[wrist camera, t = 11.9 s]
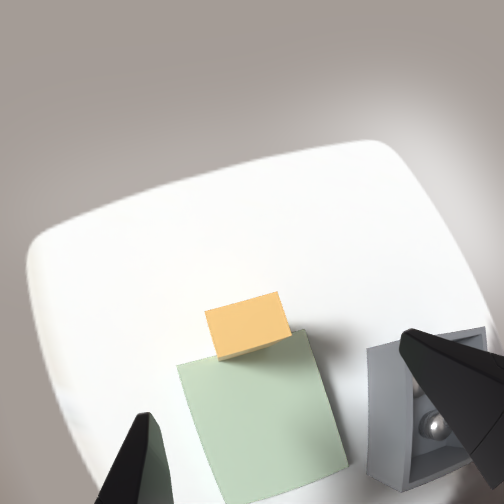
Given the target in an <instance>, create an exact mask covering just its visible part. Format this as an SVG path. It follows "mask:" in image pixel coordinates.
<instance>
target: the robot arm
mask: <svg viewBox="0 0 504 504" xmlns="http://www.w3.org/2000/svg"><path fill="white" fill-rule="evenodd" d="M399 353H400V355H401V357H402V358H403V360H404V362H405V363H406V365H407V367H408V368H409V370H410V372H411V373H412V375H413V377H414V378H415V380H416V382H417V383H418V385H419V386H420V387H421V389H422V390H423V391H424V393H425V394H426V395H427V397H428V398H429V400H430V401H431V402H432V404H433V405H434V406H435V408H436V409H437V410H438V412H439V413H440V415H441V416H442V417H443V419H444V420H445V421H446V423H447V424H448V426H449V427H450V428H451V430H452V431H453V433H454V434H455V436H456V437H457V438H458V440H459V441H460V443H461V444H462V446H463V447H464V449H465V450H466V451H467V453H468V454H469V455H470V458H471V459H472V460H473V462H474V463H475V465H476V466H477V468H478V469H479V471H480V472H481V474H482V476H483V477H484V479H485V480H486V482H487V483H488V485H489V486H490V488H491V489H492V490H493V489H494V488H496V487H497V486H498V485H499V484H500V483H502V482H503V481H504V356H501V355H497V354H494V353H490V352H487V351H484V350H480V349H477V348H474V347H470V346H467V345H464V344H461V343H457V342H454V341H451V340H448V339H445V338H441V337H438V336H435V335H432V334H429V333H426V332H422V331H419V330H416V329H413V328H411V329H408V330H406V331H404V332H403V333H402V335H401V339H400V344H399ZM94 504H174V501H173V494H172V486H171V477H170V471H169V466H168V462H167V457H166V453H165V448H164V444H163V439H162V434H161V430H160V427H159V425H158V424H157V422H156V420H155V419H154V417H153V416H152V414H151V413H150V412H144V413H139V414H137V416H136V418H135V420H134V422H133V424H132V426H131V428H130V430H129V432H128V434H127V436H126V438H125V440H124V442H123V444H122V446H121V448H120V450H119V452H118V454H117V456H116V459H115V461H114V463H113V465H112V467H111V469H110V471H109V473H108V475H107V477H106V480H105V482H104V484H103V486H102V488H101V490H100V492H99V495H98V497H97V499H96V501H95V503H94Z"/></svg>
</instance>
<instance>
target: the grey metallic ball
mask: <svg viewBox="0 0 504 504" xmlns="http://www.w3.org/2000/svg"><path fill="white" fill-rule="evenodd" d="M418 430H419V434H420V436H421V437H422V438H425V439H431V440H436V441H442V440H445V439H446V438H447V437H448V436H449V435H450V434H451V432H452V430H451V428H450V427H449V426H448V424H447V423H446V421H445V420H444V419H443V417H442V416H441V415H440V413H439V412H438V411H437V410H431V411H428V412H427V413H425V414H424V415H423V417H422V418H421V420H420V422H419V427H418Z"/></svg>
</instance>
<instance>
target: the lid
mask: <svg viewBox="0 0 504 504" xmlns="http://www.w3.org/2000/svg"><path fill="white" fill-rule="evenodd" d="M205 315H206V319H207V323H208V327H209V330H210V334H211V337H212V341H213V344H214V348H215V351H216V356H212V357H209V358H205V359H201V360H197V361H193V362H189V363H185V364H181V365H176V366H177V370H178V373H179V377H180V380H181V384H182V387H183V390H184V393H185V397H186V400H187V403H188V406H189V409H190V412H191V415H192V418H193V421H194V424H195V427H196V430H197V433H198V435H199V438H200V441H201V444H202V446H203V449H204V452H205V454H206V457H207V460H208V462H209V465H210V467H211V470H212V472H213V475H214V477H215V480H216V482H217V485H218V487H219V489H220V492H221V494H222V496H223V499H224V501H225V503H226V504H248V503H252V502H255V501H259V500H262V499H266V498H269V497H272V496H275V495H278V494H281V493H284V492H287V491H290V490H293V489H296V488H299V487H301V486H304V485H307V484H309V483H312V482H314V481H317V480H319V479H322V478H324V477H326V476H329V475H331V474H333V473H336V472H338V471H340V470H342V469H344V468H346V467H349V464H348V461H347V458H346V455H345V451H344V448H343V445H342V442H341V438H340V435H339V432H338V429H337V426H336V423H335V419H334V416H333V413H332V410H331V407H330V404H329V401H328V398H327V395H326V391H325V388H324V385H323V382H322V379H321V376H320V373H319V370H318V367H317V364H316V361H315V358H314V355H313V352H312V349H311V346H310V343H309V340H308V337H307V335H306V332H305V329H302V330H299V331H296V332H293V333H291V331H290V328H289V325H288V322H287V319H286V316H285V313H284V310H283V307H282V304H281V301H280V298H279V295H278V292H273V293H270V294H266V295H263V296H259V297H256V298H252V299H249V300H245V301H241V302H238V303H234V304H230V305H227V306H223V307H219V308H216V309H212V310H208V311H205Z"/></svg>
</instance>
